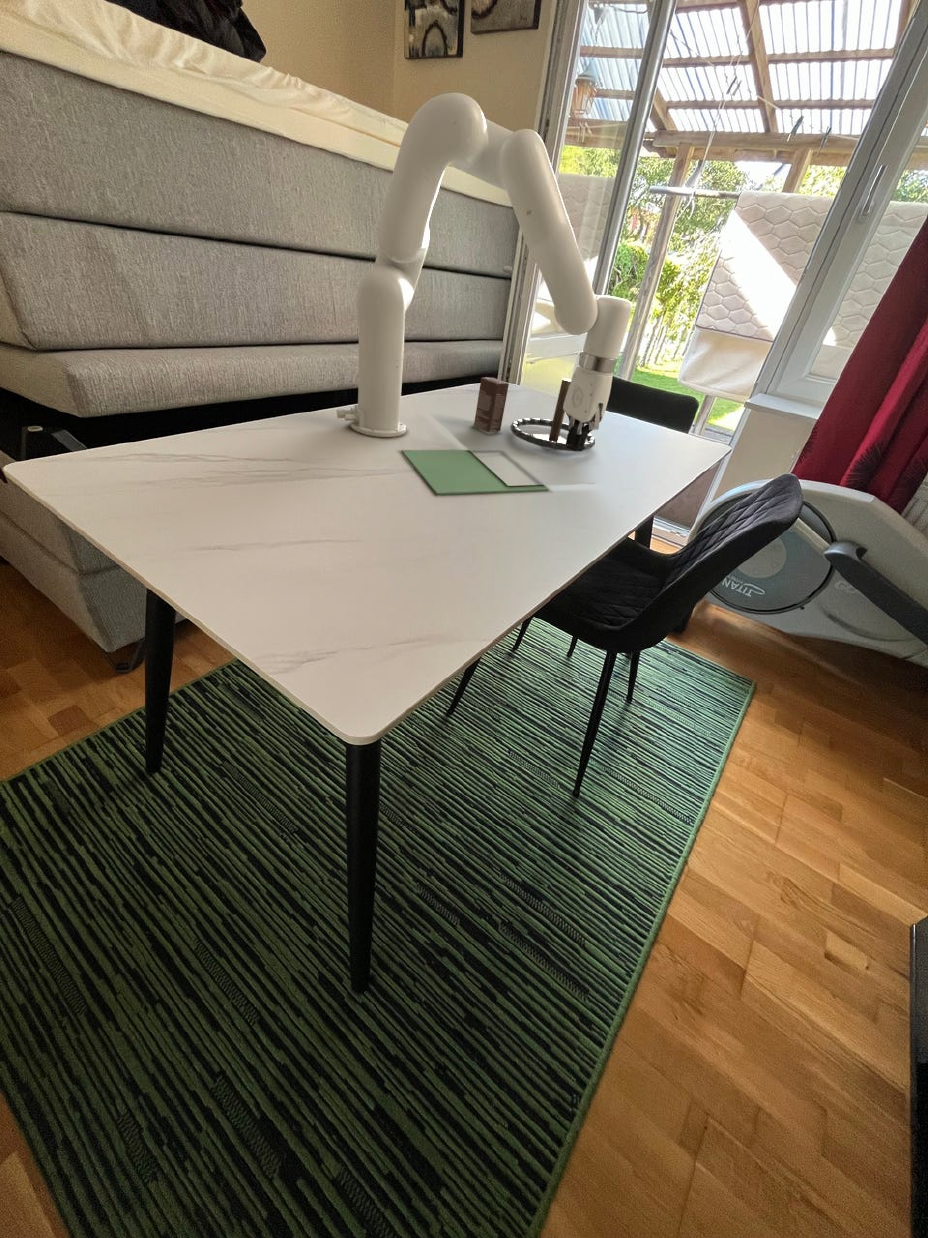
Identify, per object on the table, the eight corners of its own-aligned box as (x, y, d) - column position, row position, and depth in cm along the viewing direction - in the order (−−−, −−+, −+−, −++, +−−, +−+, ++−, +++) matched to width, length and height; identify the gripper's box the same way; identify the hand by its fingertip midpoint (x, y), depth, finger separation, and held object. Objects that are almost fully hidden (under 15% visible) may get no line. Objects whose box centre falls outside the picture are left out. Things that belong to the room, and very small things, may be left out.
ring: (536, 451, 117) (537, 444, 116) (496, 422, 132) (497, 416, 131) (610, 452, 125) (612, 445, 124) (565, 424, 140) (566, 418, 139)
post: (546, 450, 125) (562, 383, 116) (530, 438, 131) (544, 374, 122) (573, 450, 128) (590, 385, 119) (557, 439, 134) (572, 376, 125)
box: (500, 433, 131) (510, 383, 124) (487, 435, 128) (496, 383, 121) (485, 426, 134) (493, 376, 127) (472, 427, 132) (479, 376, 125)
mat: (437, 495, 95) (437, 493, 94) (401, 451, 110) (401, 450, 110) (548, 490, 104) (548, 489, 104) (500, 451, 120) (501, 449, 119)
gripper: (563, 354, 115) (543, 437, 125) (604, 372, 103) (578, 461, 114) (591, 356, 118) (569, 437, 128) (633, 374, 106) (605, 461, 117)
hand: (573, 448), depth 121 cm, fingers closed on ring, 1 cm apart
